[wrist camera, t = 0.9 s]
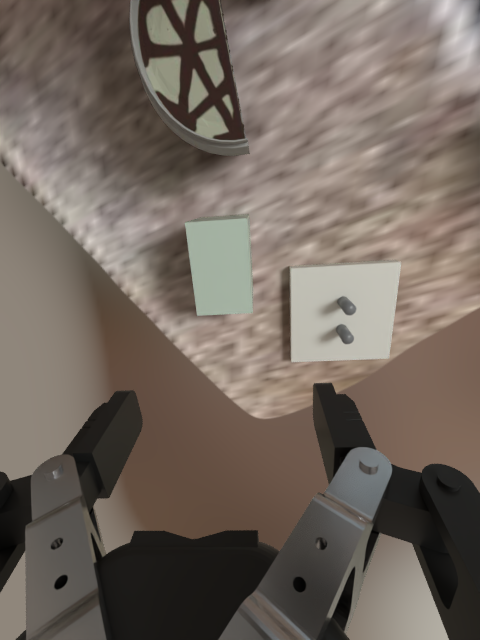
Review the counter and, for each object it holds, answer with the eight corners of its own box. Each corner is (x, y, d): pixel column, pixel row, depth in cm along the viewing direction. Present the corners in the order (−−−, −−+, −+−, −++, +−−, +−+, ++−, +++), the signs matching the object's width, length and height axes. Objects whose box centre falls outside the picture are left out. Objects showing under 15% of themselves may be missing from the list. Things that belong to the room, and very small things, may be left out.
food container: (148, 21, 25) (84, -84, 16) (219, -2, 24) (197, -127, 15) (189, 180, 29) (159, 172, 20) (251, 165, 29) (249, 148, 19)
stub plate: (289, 266, 32) (293, 274, 28) (396, 259, 31) (413, 267, 28) (290, 357, 36) (293, 373, 33) (384, 353, 35) (398, 370, 32)
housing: (199, 217, 30) (184, 222, 24) (248, 214, 30) (247, 218, 24) (208, 293, 33) (197, 315, 27) (253, 290, 33) (252, 313, 27)
